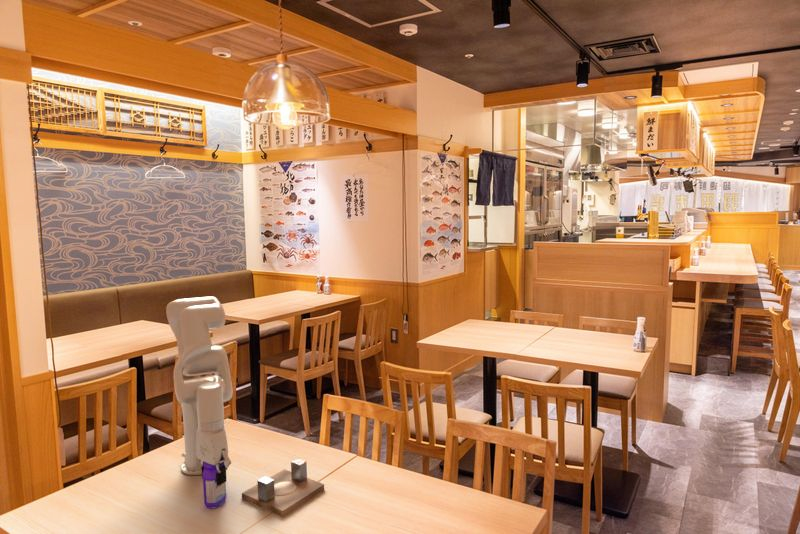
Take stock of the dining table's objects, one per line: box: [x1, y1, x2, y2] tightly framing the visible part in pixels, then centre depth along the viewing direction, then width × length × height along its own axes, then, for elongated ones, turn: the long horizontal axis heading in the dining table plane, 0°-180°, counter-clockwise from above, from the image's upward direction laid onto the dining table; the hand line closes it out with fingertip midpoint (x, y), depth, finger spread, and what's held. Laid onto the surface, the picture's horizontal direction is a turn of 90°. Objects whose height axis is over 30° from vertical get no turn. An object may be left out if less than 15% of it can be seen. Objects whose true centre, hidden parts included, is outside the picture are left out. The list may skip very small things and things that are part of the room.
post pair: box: [256, 458, 308, 503], centre depth 169 cm, size 4×17×6 cm, turn 146°
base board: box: [241, 468, 325, 518], centre depth 170 cm, size 18×18×2 cm
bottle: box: [201, 459, 227, 509], centre depth 164 cm, size 7×6×17 cm
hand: (214, 479), depth 165 cm, fingers closed on bottle, 6 cm apart
